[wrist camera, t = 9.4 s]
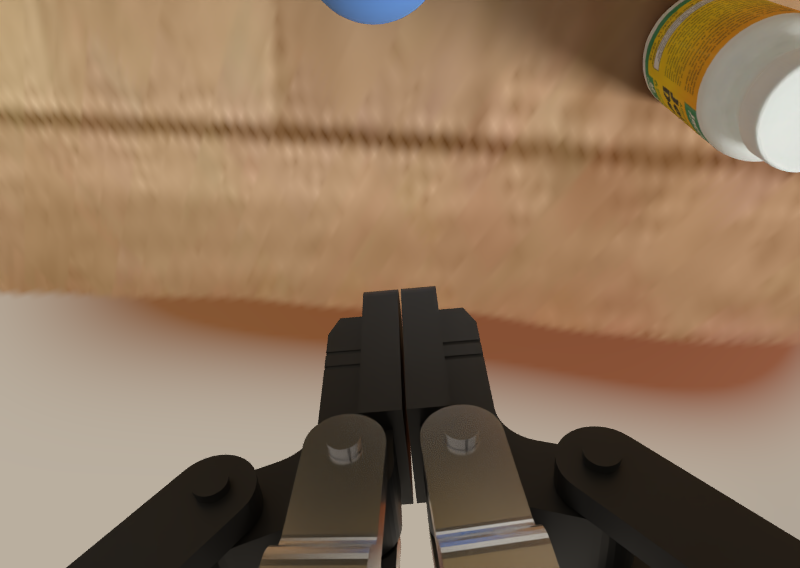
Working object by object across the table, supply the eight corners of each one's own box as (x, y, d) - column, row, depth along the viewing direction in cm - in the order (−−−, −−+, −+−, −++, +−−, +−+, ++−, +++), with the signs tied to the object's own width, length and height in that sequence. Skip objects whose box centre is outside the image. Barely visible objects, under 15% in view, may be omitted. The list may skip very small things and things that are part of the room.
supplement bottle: (785, 20, 28) (944, 79, 20) (704, 126, 31) (818, 215, 23) (690, -39, 27) (821, -1, 19) (614, 77, 30) (701, 153, 22)
